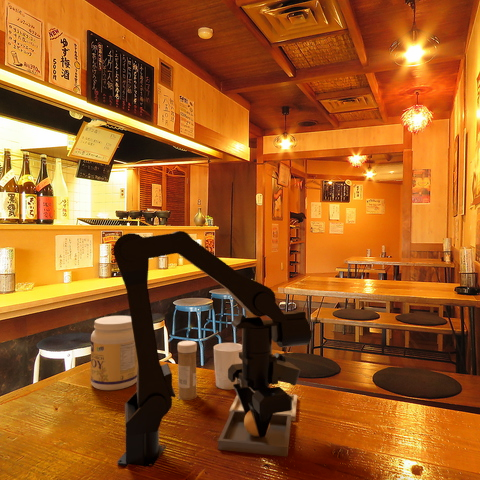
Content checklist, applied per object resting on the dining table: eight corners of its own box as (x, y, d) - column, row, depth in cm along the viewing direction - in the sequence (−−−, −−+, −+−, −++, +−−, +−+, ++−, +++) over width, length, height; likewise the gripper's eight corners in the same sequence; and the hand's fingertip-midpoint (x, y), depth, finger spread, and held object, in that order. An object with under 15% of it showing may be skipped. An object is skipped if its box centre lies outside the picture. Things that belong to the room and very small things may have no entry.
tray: (295, 423, 80) (295, 416, 80) (229, 418, 82) (229, 411, 82) (297, 401, 91) (297, 394, 91) (238, 396, 93) (238, 390, 93)
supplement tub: (81, 384, 101) (81, 320, 101) (120, 371, 111) (120, 313, 111) (108, 396, 94) (108, 327, 94) (148, 381, 103) (148, 318, 103)
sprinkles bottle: (200, 398, 92) (200, 342, 92) (185, 404, 89) (185, 346, 89) (189, 392, 96) (189, 338, 95) (174, 398, 92) (173, 342, 92)
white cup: (245, 379, 104) (244, 343, 104) (242, 391, 96) (242, 351, 96) (216, 378, 105) (216, 342, 105) (211, 390, 97) (211, 350, 97)
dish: (287, 459, 67) (287, 447, 67) (218, 452, 69) (218, 440, 69) (291, 425, 79) (291, 414, 79) (232, 420, 81) (232, 409, 81)
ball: (268, 443, 71) (268, 416, 71) (242, 440, 72) (241, 414, 72) (271, 429, 76) (271, 404, 76) (246, 427, 77) (246, 402, 77)
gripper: (319, 359, 68) (318, 447, 68) (274, 333, 85) (274, 403, 86) (260, 366, 64) (260, 459, 64) (227, 338, 82) (227, 411, 82)
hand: (257, 429), depth 74 cm, fingers closed on ball, 5 cm apart
